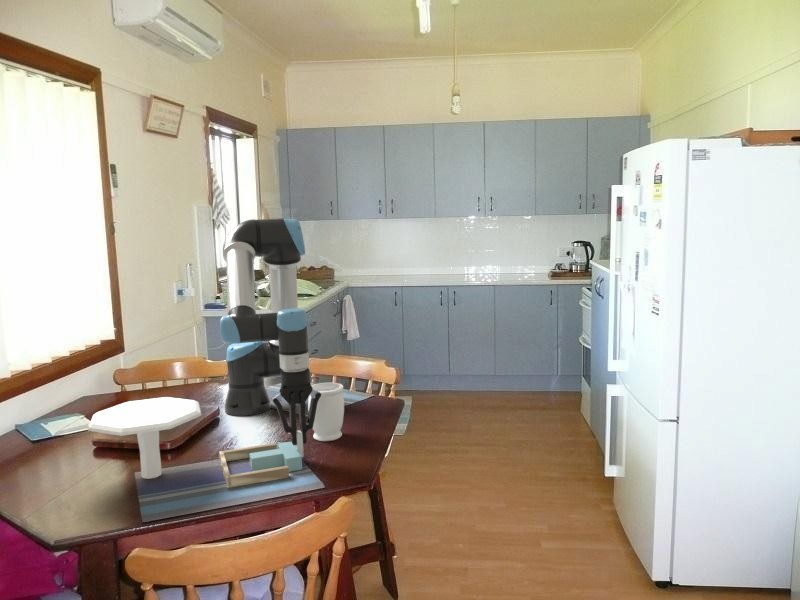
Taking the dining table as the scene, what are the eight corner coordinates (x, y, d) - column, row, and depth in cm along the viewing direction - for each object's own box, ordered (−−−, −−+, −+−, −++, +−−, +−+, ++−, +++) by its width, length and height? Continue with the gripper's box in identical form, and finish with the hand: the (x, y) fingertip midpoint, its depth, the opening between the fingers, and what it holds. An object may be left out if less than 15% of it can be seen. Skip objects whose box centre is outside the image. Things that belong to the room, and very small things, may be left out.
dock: (219, 460, 170) (219, 451, 170) (276, 451, 175) (275, 442, 175) (226, 488, 153) (226, 478, 152) (289, 477, 158) (288, 467, 158)
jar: (339, 443, 180) (337, 392, 178) (304, 442, 182) (301, 391, 180) (349, 431, 190) (347, 382, 188) (316, 429, 192) (314, 381, 190)
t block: (248, 460, 169) (247, 448, 169) (292, 453, 174) (292, 441, 173) (254, 477, 158) (253, 464, 158) (302, 469, 163) (301, 456, 162)
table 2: (123, 455, 176) (117, 396, 174) (223, 453, 175) (218, 394, 173) (67, 500, 149) (60, 431, 146) (186, 498, 148) (180, 429, 146)
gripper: (272, 374, 159) (277, 465, 162) (322, 368, 164) (327, 456, 167) (267, 368, 166) (272, 455, 169) (315, 362, 171) (320, 447, 174)
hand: (299, 455), depth 168 cm, fingers closed
